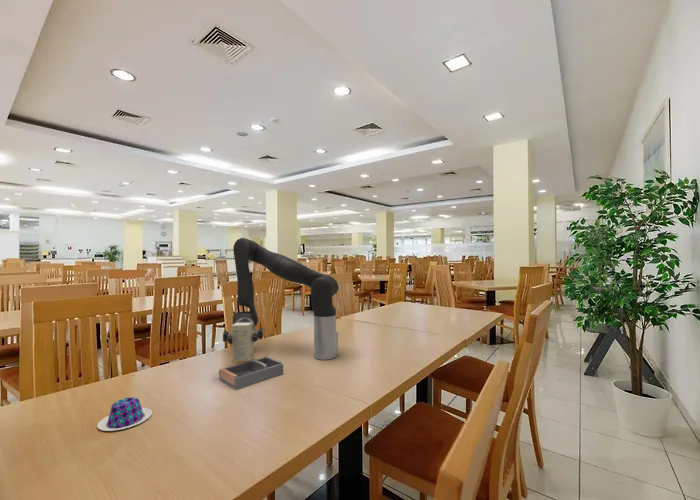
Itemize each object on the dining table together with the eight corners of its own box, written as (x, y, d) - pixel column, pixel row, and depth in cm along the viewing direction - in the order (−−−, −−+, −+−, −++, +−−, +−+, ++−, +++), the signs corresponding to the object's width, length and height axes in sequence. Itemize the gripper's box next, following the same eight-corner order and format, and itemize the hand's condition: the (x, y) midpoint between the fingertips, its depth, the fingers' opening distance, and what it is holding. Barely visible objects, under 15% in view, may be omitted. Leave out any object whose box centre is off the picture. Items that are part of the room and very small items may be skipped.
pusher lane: (265, 366, 127) (264, 355, 127) (283, 373, 118) (283, 362, 118) (219, 379, 114) (219, 368, 114) (236, 389, 105) (235, 377, 105)
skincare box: (254, 356, 116) (254, 322, 116) (249, 361, 112) (249, 325, 111) (236, 356, 117) (236, 321, 116) (231, 360, 112) (231, 324, 112)
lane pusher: (253, 367, 122) (253, 358, 122) (266, 373, 115) (266, 364, 115) (250, 368, 121) (250, 359, 121) (263, 374, 114) (263, 365, 114)
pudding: (132, 407, 95) (131, 389, 95) (162, 414, 91) (162, 395, 91) (86, 428, 84) (85, 408, 84) (117, 437, 80) (117, 415, 80)
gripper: (224, 320, 126) (219, 330, 110) (263, 317, 130) (264, 327, 114) (224, 339, 126) (220, 353, 110) (263, 336, 130) (264, 349, 114)
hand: (242, 340), depth 112 cm, fingers closed on skincare box, 7 cm apart
